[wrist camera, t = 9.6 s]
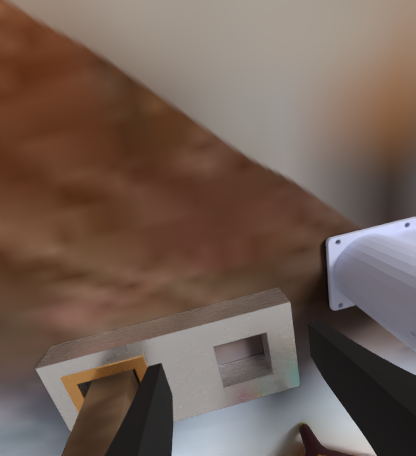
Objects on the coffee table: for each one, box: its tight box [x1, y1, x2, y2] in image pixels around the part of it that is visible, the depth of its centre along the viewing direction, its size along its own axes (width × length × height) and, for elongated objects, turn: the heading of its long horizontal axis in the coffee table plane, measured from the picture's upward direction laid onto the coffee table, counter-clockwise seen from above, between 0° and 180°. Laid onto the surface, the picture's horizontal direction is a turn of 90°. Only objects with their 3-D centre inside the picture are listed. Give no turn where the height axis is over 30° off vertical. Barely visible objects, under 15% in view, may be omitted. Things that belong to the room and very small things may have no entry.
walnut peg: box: [62, 369, 140, 456], centre depth 19 cm, size 4×4×8 cm
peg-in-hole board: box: [36, 287, 300, 432], centre depth 22 cm, size 22×10×3 cm, turn 102°
